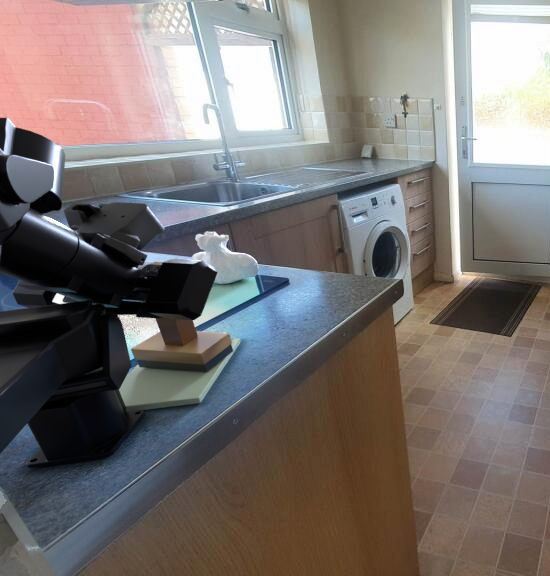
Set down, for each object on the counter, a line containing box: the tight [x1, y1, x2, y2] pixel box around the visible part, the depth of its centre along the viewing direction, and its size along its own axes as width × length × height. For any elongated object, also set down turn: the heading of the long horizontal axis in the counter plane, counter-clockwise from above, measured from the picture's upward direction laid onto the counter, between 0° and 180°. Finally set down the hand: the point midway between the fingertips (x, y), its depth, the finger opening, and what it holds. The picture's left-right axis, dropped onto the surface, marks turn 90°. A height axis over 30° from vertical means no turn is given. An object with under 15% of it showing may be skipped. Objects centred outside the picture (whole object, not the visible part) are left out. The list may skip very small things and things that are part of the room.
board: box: [119, 337, 242, 412], centre depth 51 cm, size 14×10×1 cm
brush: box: [130, 261, 233, 372], centre depth 50 cm, size 5×9×13 cm, turn 86°
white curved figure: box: [190, 230, 260, 285], centre depth 77 cm, size 12×8×11 cm
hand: (179, 311), depth 51 cm, fingers closed on brush, 2 cm apart
